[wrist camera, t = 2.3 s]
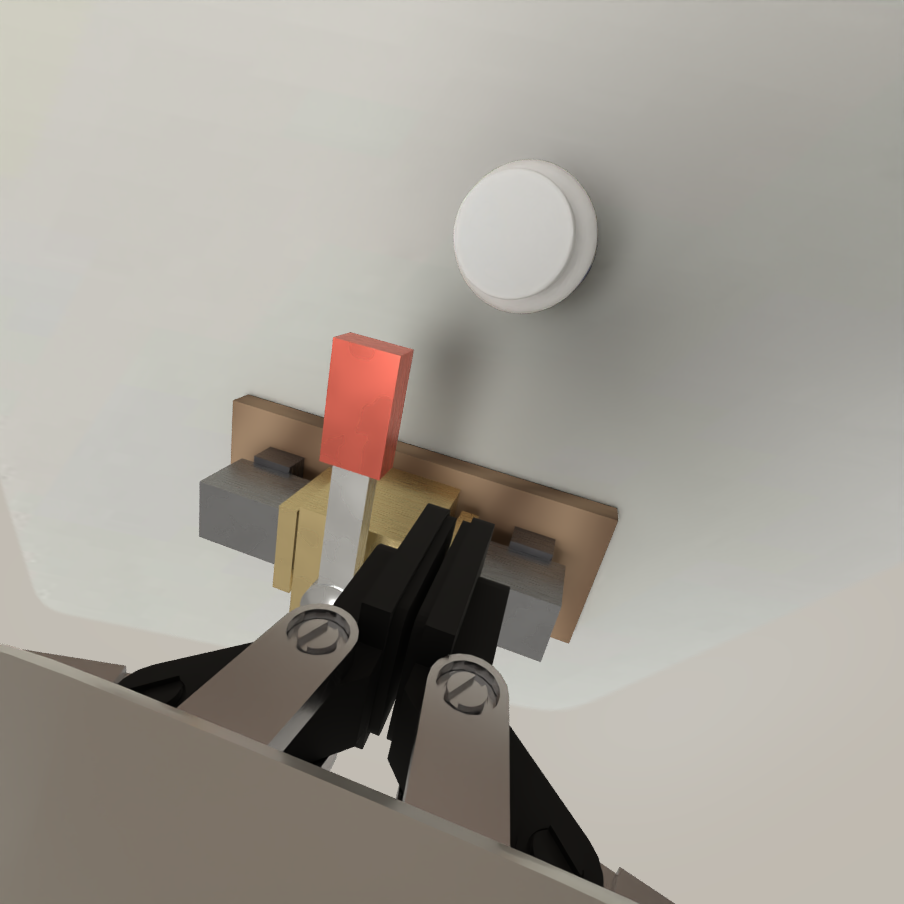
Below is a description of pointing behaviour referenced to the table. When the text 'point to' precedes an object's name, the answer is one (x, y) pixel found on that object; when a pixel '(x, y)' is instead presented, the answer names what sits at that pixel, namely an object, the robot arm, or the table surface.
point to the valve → (393, 514)
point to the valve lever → (357, 450)
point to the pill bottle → (525, 236)
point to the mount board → (482, 493)
